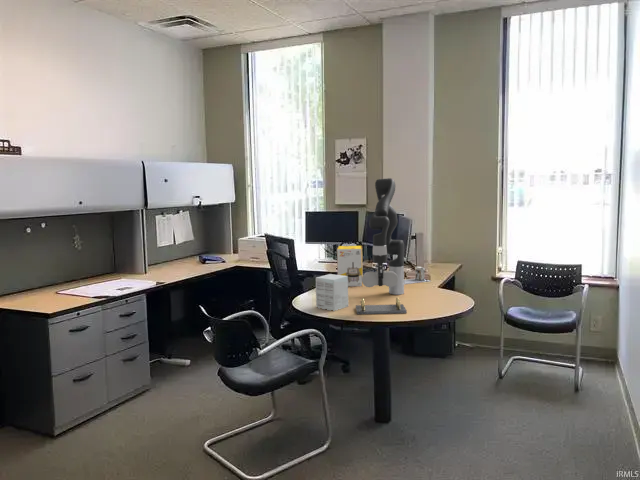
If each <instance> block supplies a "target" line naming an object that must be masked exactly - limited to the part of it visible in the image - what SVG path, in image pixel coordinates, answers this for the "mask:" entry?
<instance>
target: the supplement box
mask: <svg viewBox="0 0 640 480" xmlns="http://www.w3.org/2000/svg"><path fill="white" fill-rule="evenodd" d="M315 303H316V305H315V307H318V308H317V309H320V308H322V309H321V310H325V309H327V310H326V311H331V310H333V311H332V312H336V311H339V310H342V309H344V308H348V307H349V286H348V276H343V275H338V274H332V273H328V274H325V275H324V274H323V275H321V276H316V277H315ZM338 309H339V310H338ZM335 310H336V311H335Z"/></svg>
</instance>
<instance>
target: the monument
mask: <svg viewBox="0 0 640 480" xmlns="http://www.w3.org/2000/svg"><path fill="white" fill-rule="evenodd" d="M425 270H426V268H425V267H422V266H415V267H414V271H415V274H414V275H415V276H414V278H409V279H408V278H407V279H404V285H411V284H420V283H429V282H431V280H430V279H425Z"/></svg>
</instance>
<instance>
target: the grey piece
mask: <svg viewBox="0 0 640 480" xmlns="http://www.w3.org/2000/svg"><path fill="white" fill-rule="evenodd" d="M380 276H382V275H380ZM362 283H363V284H362V285H363V286H365V287H366V288H372V287H376V286H379V285H378V275H377V271H367V272H365V273H364V274H363V276H362ZM397 283H398V276H397V275H396V273H394V272H393V271H389V270H388V271H384V275H383V286H387V287H388V288H389V287H393V286H395V285H396V284H397Z"/></svg>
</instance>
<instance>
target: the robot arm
mask: <svg viewBox="0 0 640 480" xmlns="http://www.w3.org/2000/svg"><path fill="white" fill-rule="evenodd" d="M374 186H375V192H376V196H377V203H376V205H375V211H374V212H373V214H372V215H371V217H370V218H369V222H368V224H369V225H368V226H369V228H370V229H371V230H378V231H379V230H382V231H381V232H380V233H376V234H375V233H374V234H373V236H372V263H374V264H376V266H375V268H376V272H377V275H378V285H377V286H379V287H383V286H384V285H383V275H384V272H385V271H384V270H385V266H384V265H383V264H386V263H387V262H388V271H393V272H394V273H396V275H397V276H398V283H397V284H396V285H395V286H393V287H389V286H388V293H389V294H390V295H395V296H396V295H403V294H405V284H404V280H405V267H404V265H405V264H404V263H405V241H404V240H402V239H392V234H393V232H394V231H395V229H396V227H397V225H398V221H399V220H398V214H397V211H396V209H395V208H394V207H393V206H392V205H391V202H392V200H393V199H394V198H393V197H394V195H395V193H396V192H395V191H396V182H395V180H394V178H391V177H388V178H378V179H376V180H375V183H374ZM388 255H391V256H392V255H393V256H397V257H396V258H394V259H391V260H389V261H388ZM380 275H382V276H380Z"/></svg>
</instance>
